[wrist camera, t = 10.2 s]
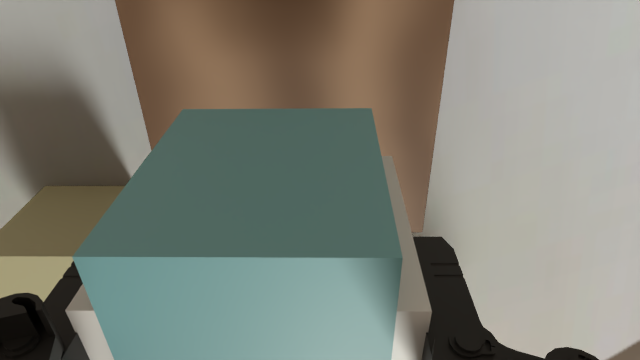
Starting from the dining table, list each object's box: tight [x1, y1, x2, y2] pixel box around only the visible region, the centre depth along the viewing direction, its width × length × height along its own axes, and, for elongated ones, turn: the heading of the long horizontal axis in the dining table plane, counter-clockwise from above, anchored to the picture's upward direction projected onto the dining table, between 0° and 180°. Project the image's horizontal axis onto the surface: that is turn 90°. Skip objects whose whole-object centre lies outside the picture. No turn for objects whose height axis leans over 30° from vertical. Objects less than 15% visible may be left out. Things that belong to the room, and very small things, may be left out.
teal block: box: [72, 108, 403, 360], centre depth 12 cm, size 6×6×7 cm
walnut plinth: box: [115, 0, 454, 232], centre depth 23 cm, size 14×14×5 cm
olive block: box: [0, 186, 125, 302], centre depth 28 cm, size 6×6×7 cm
